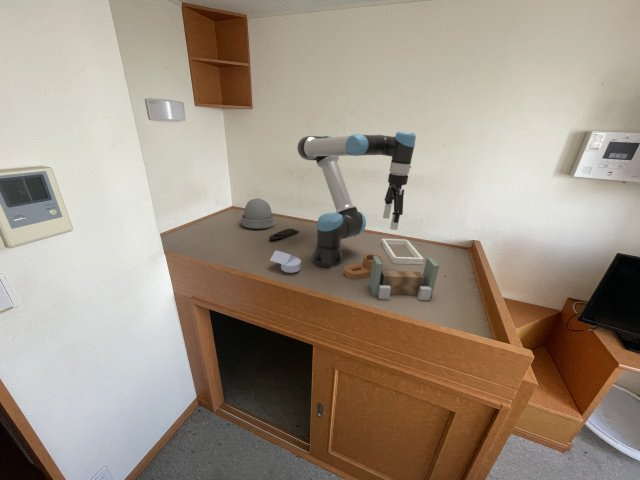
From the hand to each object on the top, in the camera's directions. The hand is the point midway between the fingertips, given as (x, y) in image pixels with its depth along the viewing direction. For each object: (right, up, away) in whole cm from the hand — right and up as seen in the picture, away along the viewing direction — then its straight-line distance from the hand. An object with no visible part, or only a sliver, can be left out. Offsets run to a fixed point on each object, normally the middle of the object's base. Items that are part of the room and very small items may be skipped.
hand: (389, 223), depth 116 cm
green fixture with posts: (+3, -28, -6) cm, 29 cm away
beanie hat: (-71, -1, +56) cm, 90 cm away
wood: (-56, -5, +45) cm, 72 cm away
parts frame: (+13, -14, +29) cm, 35 cm away
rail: (+3, -28, -6) cm, 29 cm away
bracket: (-11, -22, +7) cm, 26 cm away
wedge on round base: (-51, -15, +10) cm, 54 cm away
